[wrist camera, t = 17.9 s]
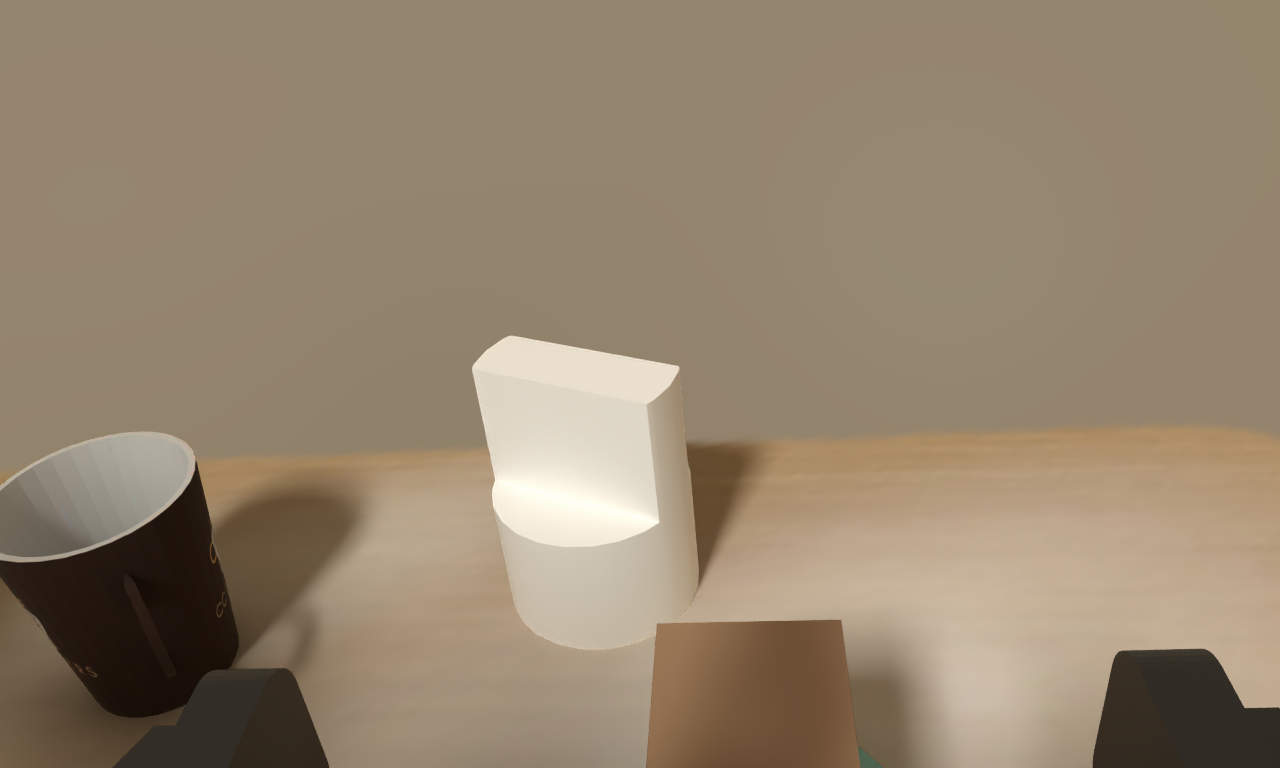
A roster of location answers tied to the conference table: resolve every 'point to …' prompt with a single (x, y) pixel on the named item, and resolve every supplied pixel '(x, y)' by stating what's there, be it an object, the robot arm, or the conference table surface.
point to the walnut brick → (751, 696)
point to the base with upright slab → (589, 490)
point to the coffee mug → (121, 568)
